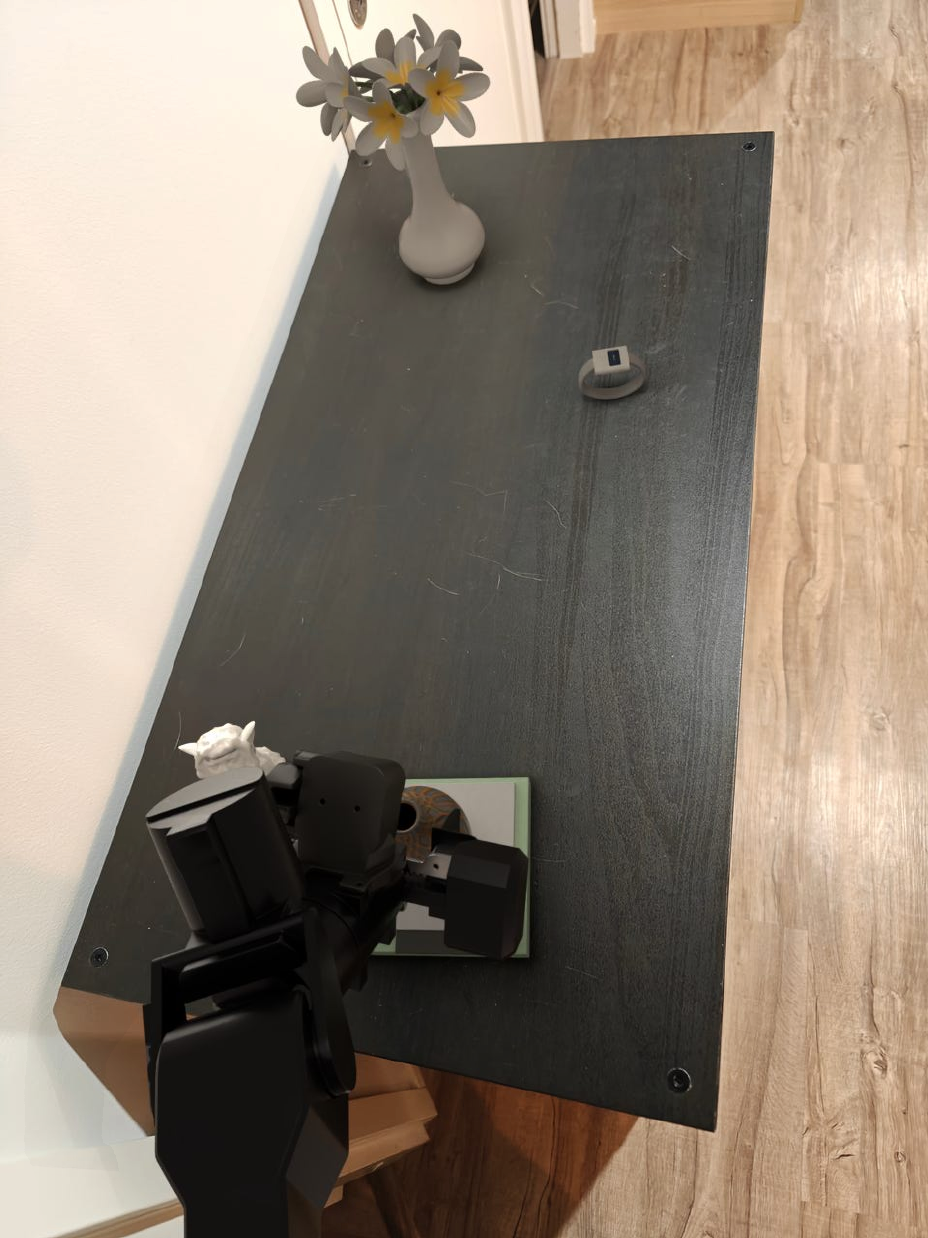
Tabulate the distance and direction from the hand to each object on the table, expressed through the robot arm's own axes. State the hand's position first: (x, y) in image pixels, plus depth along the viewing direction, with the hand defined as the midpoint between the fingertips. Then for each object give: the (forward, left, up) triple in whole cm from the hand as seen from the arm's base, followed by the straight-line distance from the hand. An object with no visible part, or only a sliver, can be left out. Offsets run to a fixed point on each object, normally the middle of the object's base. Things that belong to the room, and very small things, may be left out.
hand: (416, 806), depth 63 cm
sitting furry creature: (+4, +15, -12) cm, 20 cm away
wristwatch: (+44, -14, -12) cm, 47 cm away
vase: (-1, 0, -7) cm, 7 cm away
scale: (-1, 0, -12) cm, 12 cm away
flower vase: (+64, +4, -12) cm, 65 cm away
